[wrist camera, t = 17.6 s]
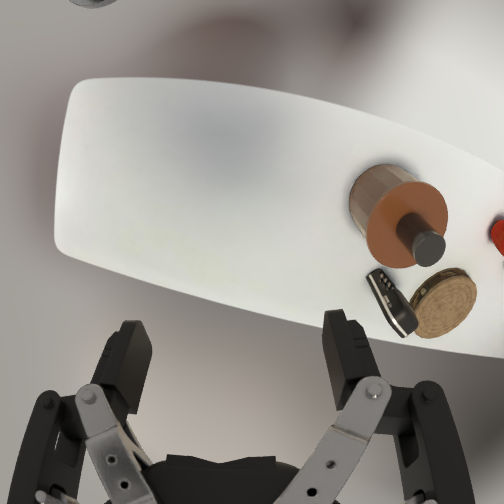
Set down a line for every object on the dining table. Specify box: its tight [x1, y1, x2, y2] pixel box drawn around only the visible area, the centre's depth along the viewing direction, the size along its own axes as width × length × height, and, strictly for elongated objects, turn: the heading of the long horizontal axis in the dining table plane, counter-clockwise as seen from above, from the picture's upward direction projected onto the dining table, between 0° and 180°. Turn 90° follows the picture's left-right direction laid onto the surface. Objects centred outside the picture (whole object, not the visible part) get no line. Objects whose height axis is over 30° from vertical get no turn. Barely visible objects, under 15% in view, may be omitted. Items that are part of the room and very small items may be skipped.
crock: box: [349, 164, 419, 239], centre depth 38 cm, size 11×11×8 cm
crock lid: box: [365, 180, 448, 268], centre depth 32 cm, size 12×12×7 cm
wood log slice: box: [409, 268, 477, 339], centre depth 51 cm, size 16×16×3 cm
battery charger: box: [366, 269, 419, 338], centre depth 44 cm, size 7×4×11 cm, turn 45°
